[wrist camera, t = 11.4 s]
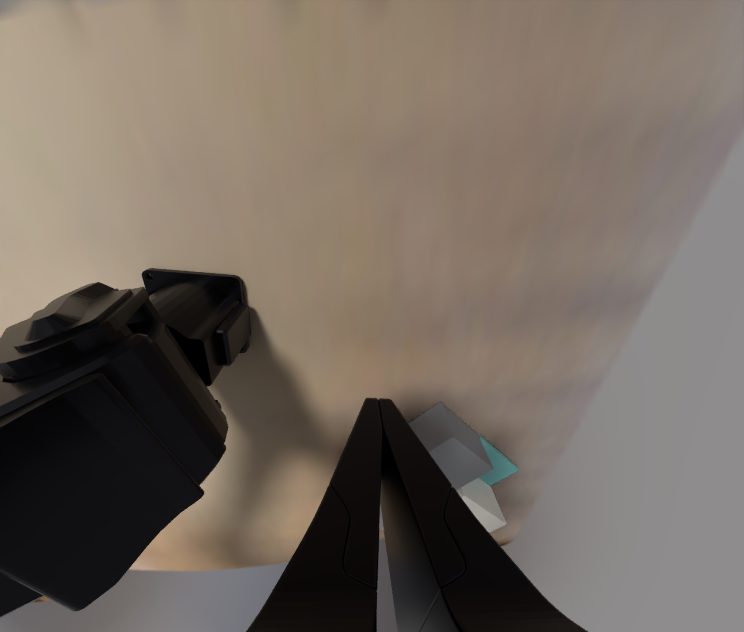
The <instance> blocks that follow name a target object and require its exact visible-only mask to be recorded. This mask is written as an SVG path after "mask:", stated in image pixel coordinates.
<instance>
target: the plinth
mask: <svg viewBox="0 0 744 632" xmlns="http://www.w3.org/2000/svg"><path fill="white" fill-rule="evenodd" d="M409 425H410V427H411V428H412V430H413V431H414V432H415V434H416V435H417V437H418V438H419V439H420V441H421V442H422V444H423V445H424V446H425V448H426V449H427V450H428V452H429V453H430V455H431V456H432V457H433V459H434V460H435V462H436V463H437V464H438V466H439V467H440V469H441V470H442V471H443V473H444V474H445V476H446V477H447V478H448V480H449V481H450V483H451V484H452V487H454V488H455V489H456V490H457V489H459V488H461V487H463V486H464V485H466V484H468V483H470V482H472V481H473V480H475V479H477V478H479V477H481V476H482V475H484V474H486V473H488V472H489V471H491V470H493V469H494V468H493V466H492V464H491V462H490V459H489V457H488V455H487V453H486V451H485V449H484V446H483V444H482V442H481V440H480V438H479V436H478V433H477V432H476V431H474V430H473V429H472V428H471V427H470V426H468V425H467V424H466V423H465V422H464V421H463V420H461V419H460V418H459V417H458V416H457V415H455V414H454V413H453V412H452V411H451V410H450V409H448V408H447V407H446V406H445V405H444V404H442V403H441V402H439V403H438V404H436V405H435V406H433V407H432V408H430V409H429V410H428V411H426V412H425V413H423V414H422V415H420V416H419V417H417V418H416V419H414V420H413V421H411V422H410V423H409ZM379 529H381V530H383V531H384V527H383V519H382V512H381V504H380V524H379Z"/></svg>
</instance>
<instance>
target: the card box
mask: <svg viewBox="0 0 744 632" xmlns="http://www.w3.org/2000/svg"><path fill="white" fill-rule="evenodd" d="M456 491H457V492H458V494H459V495H460V497H461V498H462V499H463V501H464V502H465V503H466V505H467V506H468V507H469V509H470V510H471V511H472V513H473V514H474V515H475V517H476V518H477V519H478V520H479V521H480V523H481V524H482V525H483V526H484V528H485V529H486V530H487V531H488V532H489V533H490V532H492V531H494V530H496V529H498V528H500V527H502V526H504V525H506V521H505V519H504V516H503V514H502V512H501V509H500V507H499V505H498V502H497V500H496V498H495V495H494V493H493V491H492V488H491V487H490V486H489V485H488V484H486V483H485V482H484V481H482V480H481V479H480V478H477V479H475V480H473V481H472V482H470V483H468V484H466V485H464V486H463V487H461V488H459V489H457V490H456Z"/></svg>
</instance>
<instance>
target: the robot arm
mask: <svg viewBox="0 0 744 632" xmlns="http://www.w3.org/2000/svg"><path fill="white" fill-rule="evenodd" d="M150 274H152V275H153V277H154V278H152V277H151V276H150ZM142 278H143V281H144V285H145V288H146V289H145V288H144V287H140V288H135V289H125V290H118V289H114V288H111V287H109V286H107V285H104V284H102V283H100V282H97V283H92V284H88V285H85V286H83V287H81V288H79V289H76V290H74V291H72V292H69V293H67V294H65V295H63V296H61V297H59V298H57V299H55V300H53V301H52V302H51V303H49V304H48V305H47V306H46V307H45V308H44V309H42V310H40V311H37V312H35V313H34V314H33V316H32V317H31V318H30V319H27V320H25V321H22V322H20V323H17V324H15V325H13V326H10V327H8V328H6V330H5V331H4V333H3V335H2V337H1V339H0V618H1V617H3V616H5V615H7V614H9V613H11V612H13V611H15V610H17V609H19V608H21V607H23V606H25V605H27V604H29V603H31V602H33V601H35V600H37V599H39V598H41V597H43V596H45V597H47V598H49V599H51V600H53V601H55V602H57V603H59V604H61V605H63V606H65V607H66V608H68V609H70V610H72V611H79V610H81V609H84V608H85V607H86V606H88V605H89V604H91V603H92V602H93V601H94V600H96V599H97V598H98V597H100V596H101V595H102V594H104V593H105V592H106V591H108V590H109V589H110V588H111V587H113V586H114V585H115V584H116V583H117V582H118V581H119V580H120V579H121V578H122V576H123V575H124V574H125V573H126V571H127V570H128V569H129V568H130V567H131V565H132V564H133V563H134V562H135V561H136V559H137V558H138V557H139V556H140V554H141V553H142V552H143V551H144V550H145V548H146V547H147V546H148V545H149V544H150V543H151V541H152V540H153V539H154V538H155V537H156V536H157V535H158V534H159V532H160V531H161V530H162V529H164V528H165V527H166V526H167V525H168V524H169V523H170V522H171V521H172V520H173V519H174V518H175V517H176V516H178V515H179V514H180V513H181V512H182V511H184V510H185V509H187V508H188V507H189V506H191V505H192V504H194V503H195V502H196V501H198V500H199V499H200V498H202V496H203V495H204V491H203V489H202V488H201V487H200V486H199V485H200V484H201V483H202V482H203V481H204V480H205V479H206V478H207V476H208V475H209V474H210V473H211V472H212V470H213V469H214V468H215V467H216V465H217V464H218V462H219V461H220V459H221V457H222V456H223V454H224V452H225V451H226V446H225V444H224V442H225V439H226V435H227V431H228V424H227V420H226V416H225V415H224V413H223V412H222V410H221V405H220V403H219V402H218V400H215V399H214V397H213V396H212V394H211V393H210V391H209V390H208V388H207V387H206V386H210V385H211V384H212V383H213V381H214V380H215V378H216V377H217V375H218V374H219V372H220V371H221V369H222V368H223V366H230V365H231V364H232V363H233V362H234V360H235V358H236V357H237V355H238V354H239V353H245V352H246V351H247V350H248V348H249V340H248V338H249V336H250V334H251V328H250V318H249V309H248V305H247V304H246V303H244V294H243V285H242V280H241V279H240V277H238V276H236V275H227V274H215V273H203V272H191V271H179V270H167V269H154V268H150V269H147V270H145V271H143V273H142ZM231 280H233V281H235V282H236V283H237V285H234V284H232V282H231ZM242 347H244V348H242ZM380 504H381V512H382V519H383V527H384V534H385V541H386V549H387V556H388V564H389V571H390V578H391V586H392V594H393V601H394V608H395V616H396V623H397V631H398V632H588V631H586V630H585V629H583V628H582V627H580V626H579V625H577V624H576V623H574V622H573V621H571V620H570V619H569V618H567V617H566V616H565V615H564V614H562V613H561V612H560V611H559V610H558V609H556V608H555V607H554V606H553V605H552V604H551V603H550V602H549V601H548V600H547V599H546V598H545V597H544V596H543V595H542V594H541V593H540V592H539V591H538V589H537V588H536V587H535V586H534V585H533V584H532V583H531V582H530V580H529V579H528V578H527V577H526V576H525V575H524V573H523V572H522V571H521V570H520V569H519V568H518V566H517V565H516V564H515V563H514V562H513V561H512V559H511V558H510V557H509V556H508V555H507V554H506V552H505V551H504V550H503V549H502V548H501V547H500V545H499V544H498V543H497V542H496V541H495V540H494V538H493V537H492V536H491V535H490V534H489V532H488V531H487V530H486V529H485V528H484V526H483V525H482V524H481V523H480V521H479V520H478V519H477V518H476V517H475V515H474V514H473V513H472V511H471V510H470V509H469V507H468V506H467V505H466V503H465V502H464V501H463V499H462V498H461V497H460V495H459V494H458V492H457V491H456V489H455V488H454V487H452V484H451V483H450V481H449V480H448V478H447V477H446V476H445V474H444V473H443V471H442V470H441V469H440V467H439V466H438V464H437V463H436V462H435V460H434V459H433V457H432V456H431V455H430V453H429V452H428V450H427V449H426V448H425V446H424V445H423V444H422V442H421V441H420V439H419V438H418V437H417V435H416V434H415V432H414V431H413V430H412V428H411V427H410V425H409V424H408V423H407V421H406V420H405V418H404V417H403V416H402V414H401V413H400V411H399V410H398V409H397V407H396V406H395V404H394V403H393V402H392V400H391V399H382V398H380V399H379V400H378V399H377V398H366V399H365V401H364V403H363V406H362V408H361V410H360V413H359V415H358V417H357V420H356V422H355V424H354V427H353V429H352V431H351V434H350V436H349V439H348V441H347V443H346V446H345V448H344V450H343V453H342V455H341V457H340V460H339V462H338V465H337V467H336V469H335V472H334V474H333V476H332V479H331V481H330V483H329V486H328V488H327V490H326V492H325V495H324V497H323V499H322V501H321V504H320V506H319V508H318V510H317V512H316V514H315V517H314V518H313V520H312V522H311V524H310V526H309V528H308V530H307V532H306V533H305V535H304V537H303V539H302V541H301V542H300V544H299V546H298V548H297V549H296V551H295V553H294V555H293V556H292V558H291V560H290V562H289V563H288V565H287V567H286V568H285V570H284V572H283V574H282V575H281V577H280V579H279V581H278V582H277V584H276V586H275V588H274V589H273V591H272V593H271V594H270V596H269V598H268V599H267V601H266V603H265V604H264V606H263V607H262V609H261V611H260V612H259V614H258V615H257V617H256V618H255V620H254V621H253V623H252V624H251V626H250V627H249V628H248V630H247V631H246V632H377V629H376V627H377V626H376V623H377V621H376V620H377V619H376V618H377V617H376V614H377V612H376V610H377V592H376V591H377V580H378V552H379V524H380Z"/></svg>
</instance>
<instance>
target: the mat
mask: <svg viewBox="0 0 744 632" xmlns="http://www.w3.org/2000/svg"><path fill="white" fill-rule="evenodd" d="M479 438H480V440H481V442H482V444H483V446H484V449H485V451H486V453H487V455H488V457H489V459H490V462H491V464H492V466H493V468H494V469H493V470H491V471H489V472H488V473H486V474H484V475H482V476H481V477H479V478H480V479H481V480H482V481H484V482H485V483H486V484H488V485H489V486H491V485H493V484H495V483H497V482H499V481H501V480H502V479H504V478H506V477H508V476H510V475H512V474H514V473H515V472H517V471H519V469H518V467H517V466H516V465H514V464H513V463H512V462H511V461H510V460H509V459H507V458H506V457H505V456H504V455H503V454H501V453H500V452H499V451H498V450H497V449H496V448H494V447H493V446H492V445H491V444H490V443H488V442H487V441H486V440H485V439H484V438H483V437H481V436H479Z"/></svg>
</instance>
